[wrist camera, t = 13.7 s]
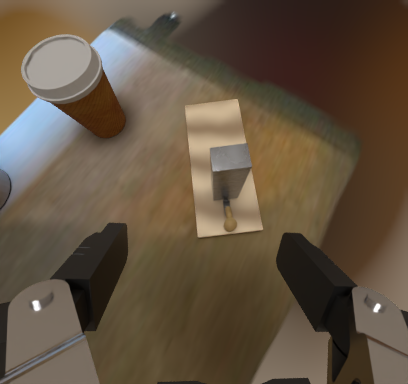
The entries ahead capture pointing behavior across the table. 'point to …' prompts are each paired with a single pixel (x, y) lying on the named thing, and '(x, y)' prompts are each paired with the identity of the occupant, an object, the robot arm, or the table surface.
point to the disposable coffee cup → (74, 83)
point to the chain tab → (229, 171)
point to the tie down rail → (201, 170)
